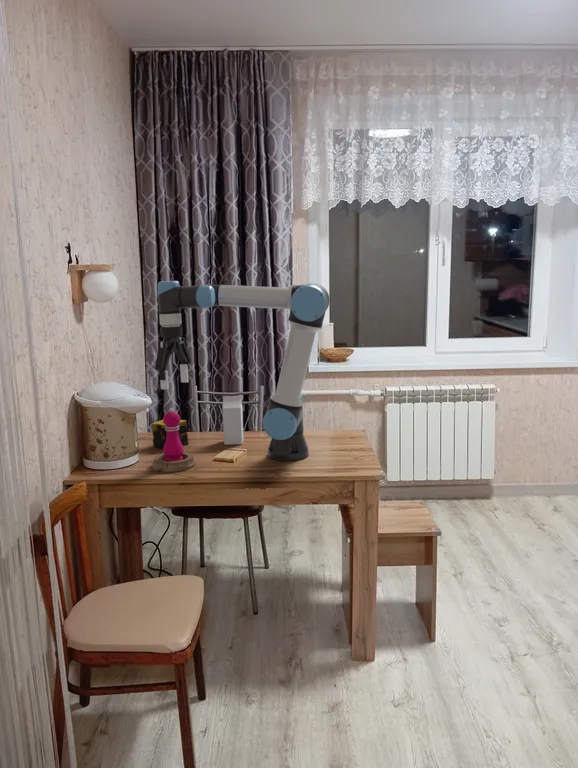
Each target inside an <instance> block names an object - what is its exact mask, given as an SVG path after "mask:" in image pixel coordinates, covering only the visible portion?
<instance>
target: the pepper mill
mask: <svg viewBox="0 0 578 768" xmlns="http://www.w3.org/2000/svg"><path fill="white" fill-rule="evenodd" d="M174 411H175V410H174V408H173V407H170V408H169V409H168V412H166V413H165V414H164V415H163V418H162V420H163V422H164V424H165V425H166V426H165V430H166V432H167V439H166V442H165V445H164V448H163V451H162V452H163V453H164V455H165V456H166V458H165V461H179V460H183V457H182V456H181V455H182V454H183V452H185V450H184V446H183V445H182V443H181V441H180V439H179V436H178V430H179V425H178V424H179V422H180V420H181V416H180V414H179V413H177V412H174ZM163 453H162V454H163Z"/></svg>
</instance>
